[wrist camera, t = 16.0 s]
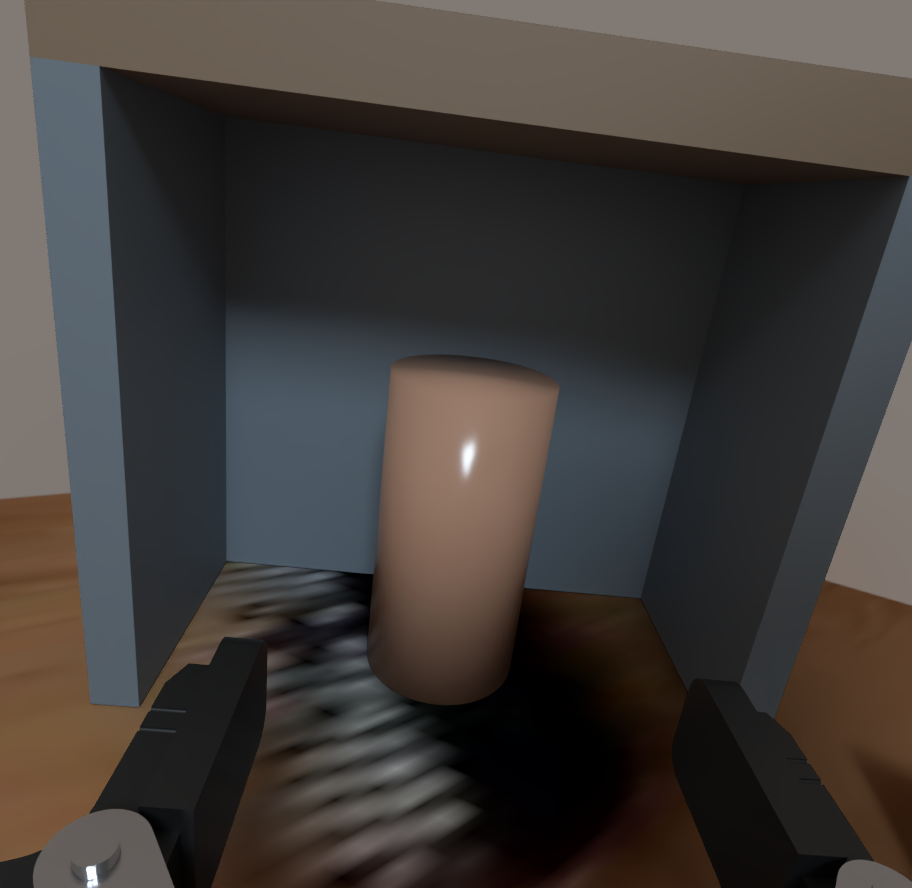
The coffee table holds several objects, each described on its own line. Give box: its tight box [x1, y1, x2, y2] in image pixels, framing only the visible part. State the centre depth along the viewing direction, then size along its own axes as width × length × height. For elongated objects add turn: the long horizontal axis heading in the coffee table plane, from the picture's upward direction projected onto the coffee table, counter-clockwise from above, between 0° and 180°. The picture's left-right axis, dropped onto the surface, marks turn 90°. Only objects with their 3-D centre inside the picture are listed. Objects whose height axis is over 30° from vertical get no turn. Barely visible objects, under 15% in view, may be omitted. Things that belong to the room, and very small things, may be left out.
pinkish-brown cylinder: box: [367, 354, 560, 705], centre depth 23 cm, size 6×6×11 cm
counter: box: [24, 0, 912, 719], centre depth 22 cm, size 22×10×20 cm, turn 91°
